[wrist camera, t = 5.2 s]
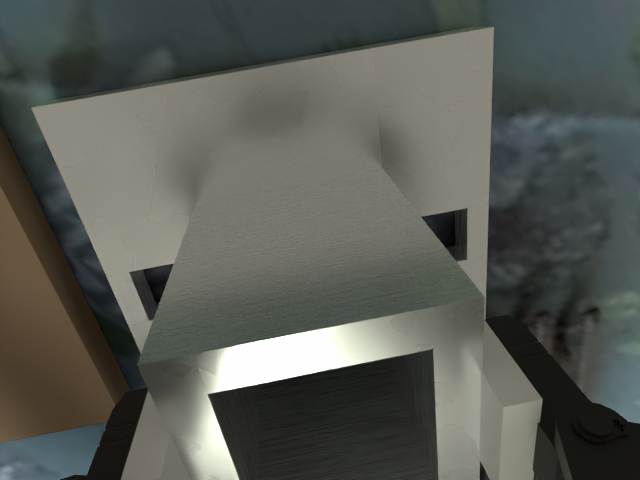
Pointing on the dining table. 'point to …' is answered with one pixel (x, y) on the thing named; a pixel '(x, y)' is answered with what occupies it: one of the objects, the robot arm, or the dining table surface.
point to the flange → (300, 254)
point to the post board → (45, 324)
